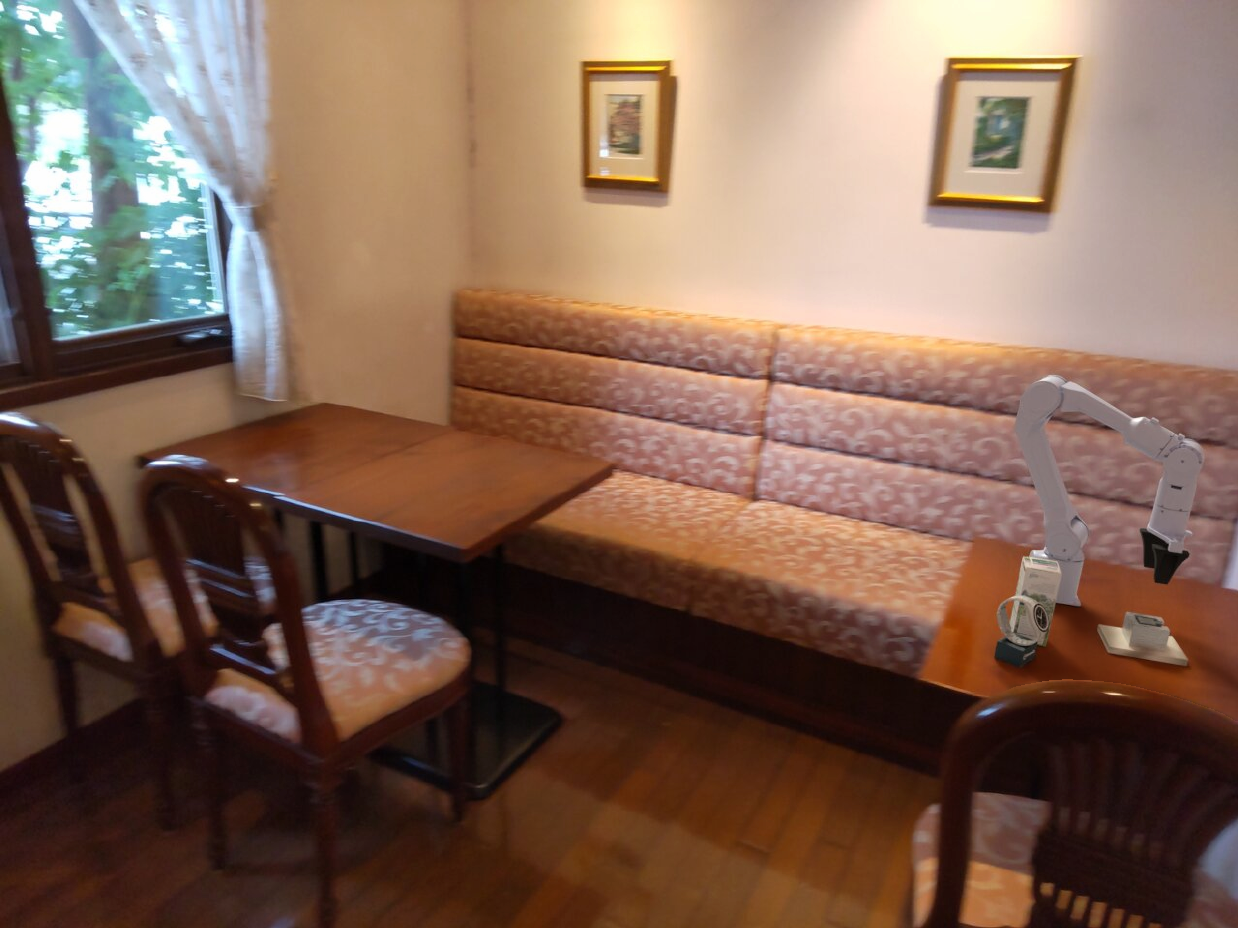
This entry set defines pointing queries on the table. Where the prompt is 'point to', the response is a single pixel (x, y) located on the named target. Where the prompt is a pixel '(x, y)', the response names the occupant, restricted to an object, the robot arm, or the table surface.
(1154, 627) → the grey slotted channel block
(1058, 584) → the syrup box
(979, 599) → the table surface
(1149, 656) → the keyed post base
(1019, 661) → the watch
